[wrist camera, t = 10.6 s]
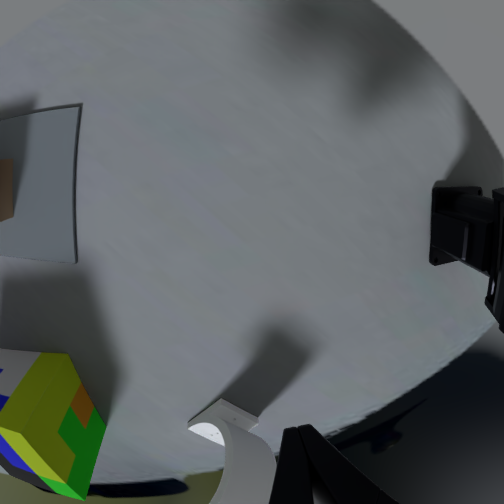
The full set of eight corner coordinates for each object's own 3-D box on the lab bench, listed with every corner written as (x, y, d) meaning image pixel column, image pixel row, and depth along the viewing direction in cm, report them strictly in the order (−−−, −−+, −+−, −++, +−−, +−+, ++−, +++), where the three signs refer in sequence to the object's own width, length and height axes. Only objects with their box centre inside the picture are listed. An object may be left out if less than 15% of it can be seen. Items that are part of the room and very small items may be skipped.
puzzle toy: (0, 348, 20) (-48, 406, 10) (68, 353, 21) (20, 433, 11) (39, 415, 23) (10, 475, 13) (106, 426, 24) (85, 500, 14)
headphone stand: (187, 422, 24) (182, 531, 12) (229, 391, 23) (239, 515, 12) (224, 440, 25) (231, 541, 14) (266, 412, 24) (289, 523, 13)
